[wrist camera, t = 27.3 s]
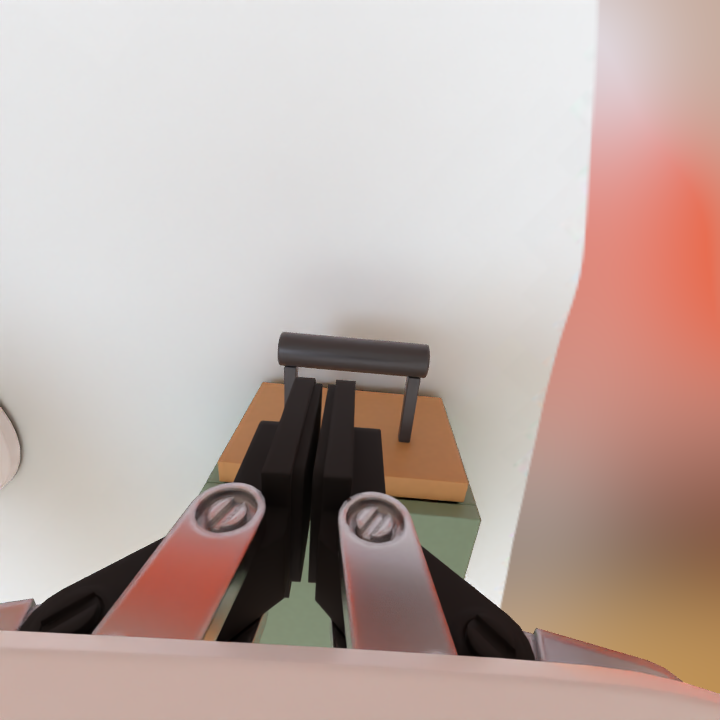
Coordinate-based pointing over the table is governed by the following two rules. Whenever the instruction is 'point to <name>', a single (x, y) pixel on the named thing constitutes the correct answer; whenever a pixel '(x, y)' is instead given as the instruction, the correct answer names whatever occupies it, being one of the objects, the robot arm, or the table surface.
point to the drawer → (369, 413)
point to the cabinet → (435, 533)
